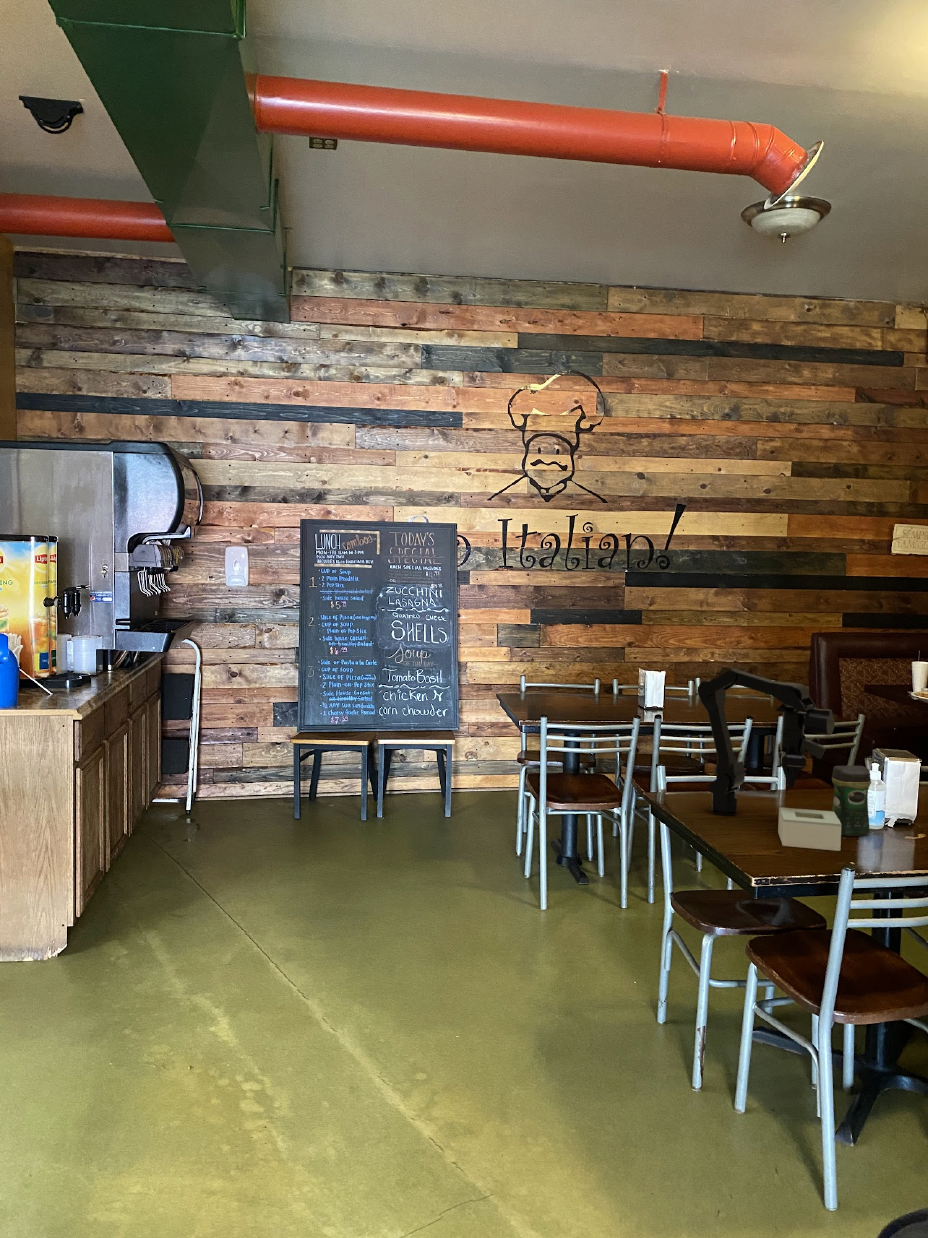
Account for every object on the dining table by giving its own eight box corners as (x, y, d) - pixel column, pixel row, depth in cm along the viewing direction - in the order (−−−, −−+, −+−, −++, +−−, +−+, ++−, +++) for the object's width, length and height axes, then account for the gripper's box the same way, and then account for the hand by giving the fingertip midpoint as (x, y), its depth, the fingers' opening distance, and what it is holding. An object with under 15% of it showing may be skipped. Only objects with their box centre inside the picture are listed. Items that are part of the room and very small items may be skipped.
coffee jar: (859, 828, 244) (862, 763, 243) (873, 837, 236) (876, 769, 235) (825, 828, 244) (828, 762, 243) (838, 836, 236) (840, 769, 235)
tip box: (782, 845, 228) (783, 819, 227) (778, 832, 239) (779, 807, 239) (840, 851, 224) (841, 824, 224) (832, 837, 236) (834, 811, 235)
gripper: (828, 738, 232) (824, 796, 233) (820, 725, 250) (816, 779, 251) (783, 734, 235) (780, 791, 236) (779, 722, 253) (775, 775, 254)
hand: (789, 784), depth 244 cm, fingers open, 9 cm apart
